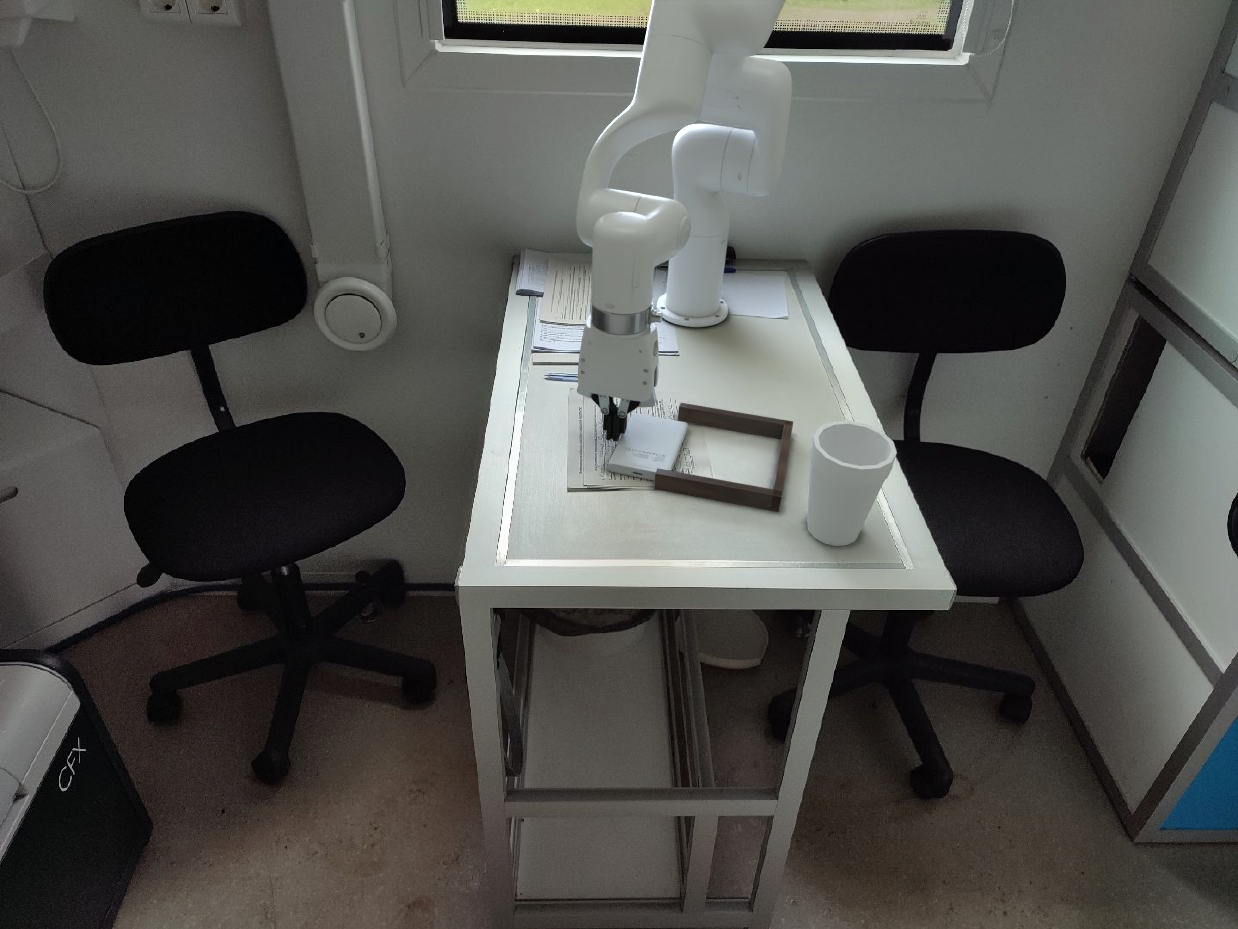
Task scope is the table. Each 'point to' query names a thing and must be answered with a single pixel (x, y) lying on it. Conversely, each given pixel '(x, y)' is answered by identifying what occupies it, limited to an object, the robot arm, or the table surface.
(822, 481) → the foam cup
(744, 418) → the dock
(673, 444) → the hard drive
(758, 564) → the table surface
